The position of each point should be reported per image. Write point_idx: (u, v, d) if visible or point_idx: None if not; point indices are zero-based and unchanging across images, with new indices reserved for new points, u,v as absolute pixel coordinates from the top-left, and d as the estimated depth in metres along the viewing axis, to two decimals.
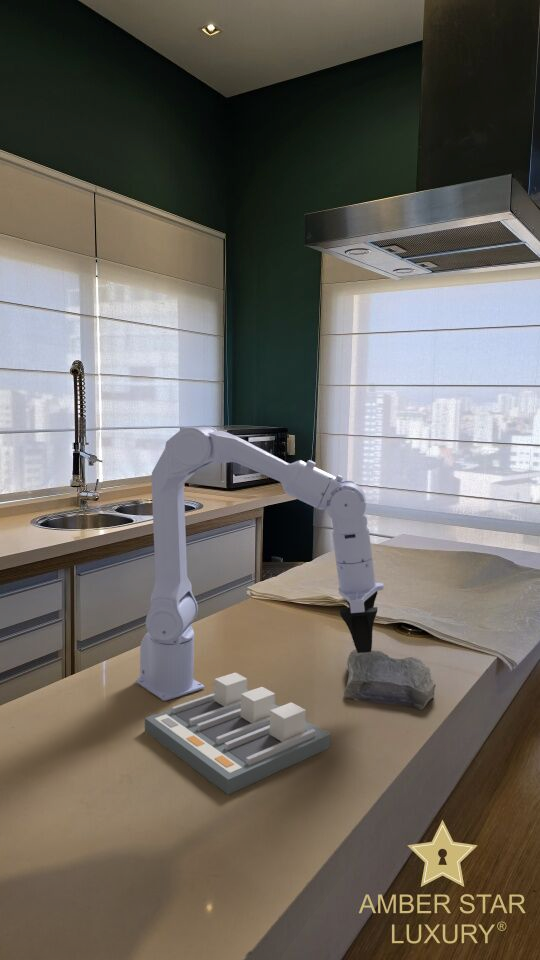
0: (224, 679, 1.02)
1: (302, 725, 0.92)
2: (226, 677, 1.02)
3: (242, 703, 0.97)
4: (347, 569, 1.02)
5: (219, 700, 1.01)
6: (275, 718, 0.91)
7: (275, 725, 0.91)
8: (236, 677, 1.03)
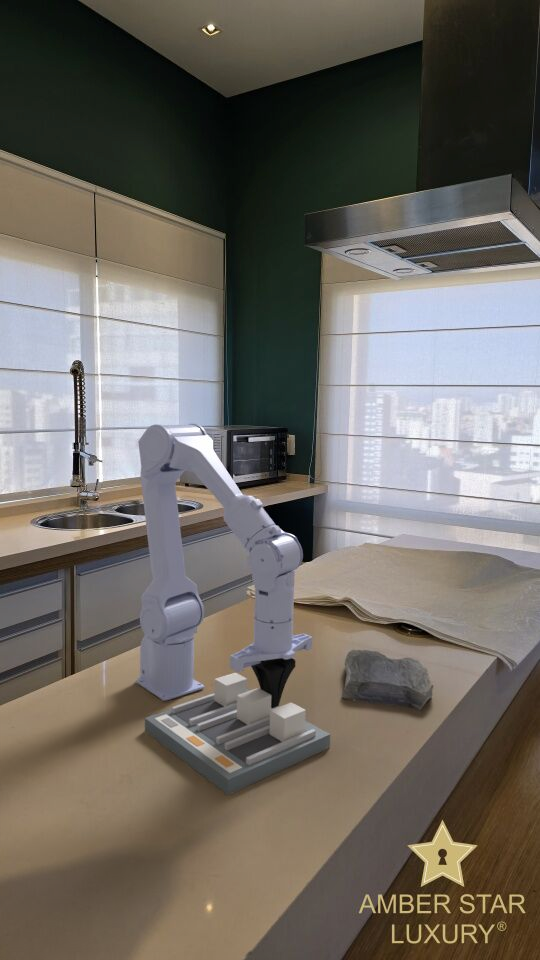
0: (224, 679, 1.02)
1: (302, 725, 0.92)
2: (226, 677, 1.02)
3: (238, 705, 0.96)
4: (255, 624, 0.97)
5: (219, 700, 1.01)
6: (275, 718, 0.91)
7: (275, 725, 0.91)
8: (236, 677, 1.03)
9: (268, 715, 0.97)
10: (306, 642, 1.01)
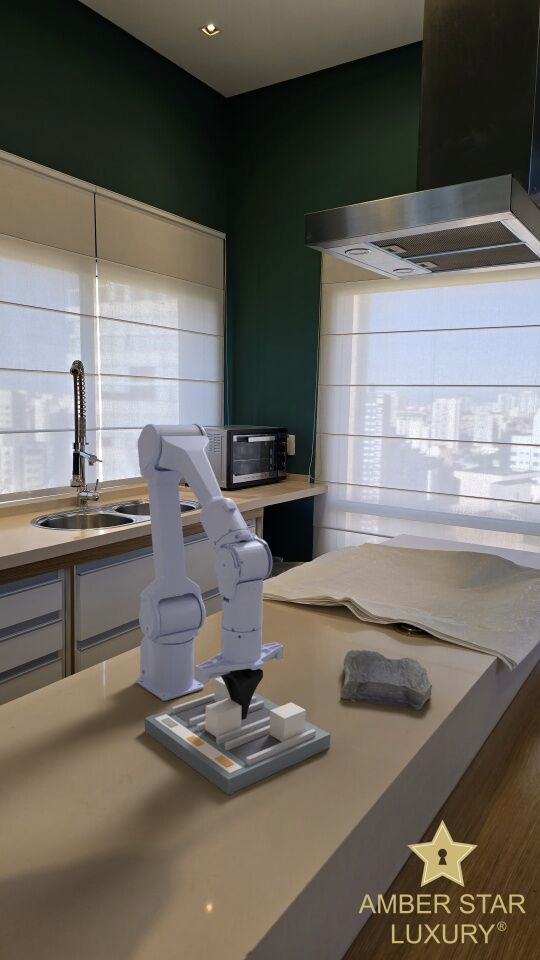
0: None
1: (302, 725, 0.92)
2: None
3: (207, 716, 0.93)
4: (222, 633, 0.93)
5: (219, 700, 1.01)
6: (275, 718, 0.91)
7: (275, 725, 0.91)
8: None
9: (238, 727, 0.93)
10: (277, 651, 0.97)
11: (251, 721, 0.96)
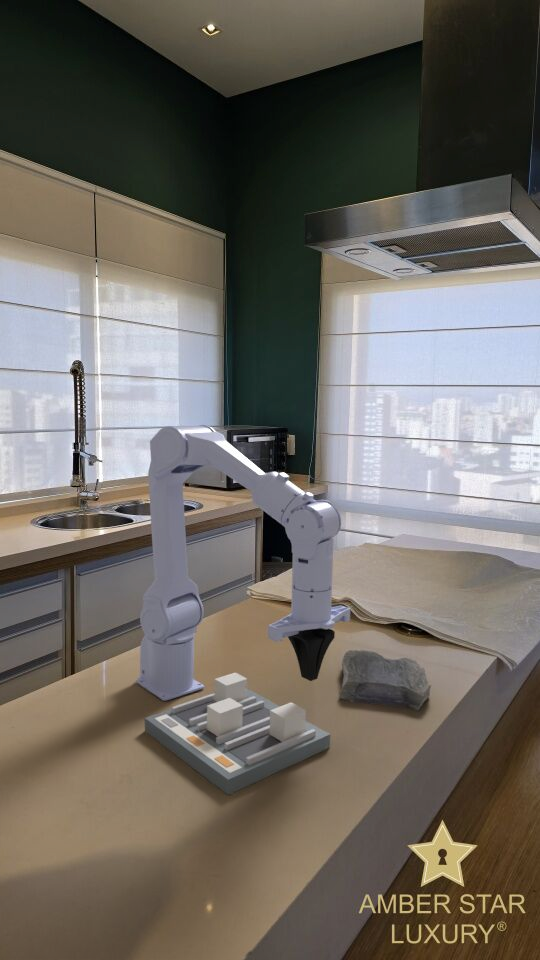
0: (224, 679, 1.02)
1: (302, 725, 0.92)
2: (226, 677, 1.02)
3: (208, 715, 0.93)
4: (293, 593, 0.94)
5: (219, 700, 1.01)
6: (275, 718, 0.91)
7: (275, 725, 0.91)
8: (236, 677, 1.03)
9: (239, 726, 0.93)
10: (344, 613, 0.98)
11: (251, 721, 0.96)
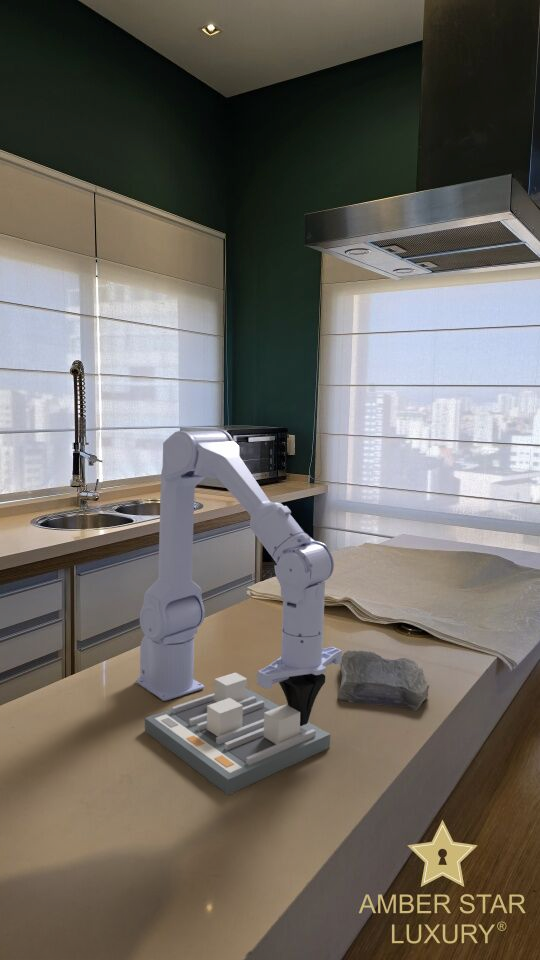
0: (224, 679, 1.02)
1: (296, 727, 0.92)
2: (226, 677, 1.02)
3: (208, 715, 0.93)
4: (283, 637, 0.92)
5: (219, 700, 1.01)
6: (269, 720, 0.91)
7: (269, 727, 0.91)
8: (236, 677, 1.03)
9: (239, 726, 0.93)
10: (336, 656, 0.96)
11: (251, 721, 0.96)
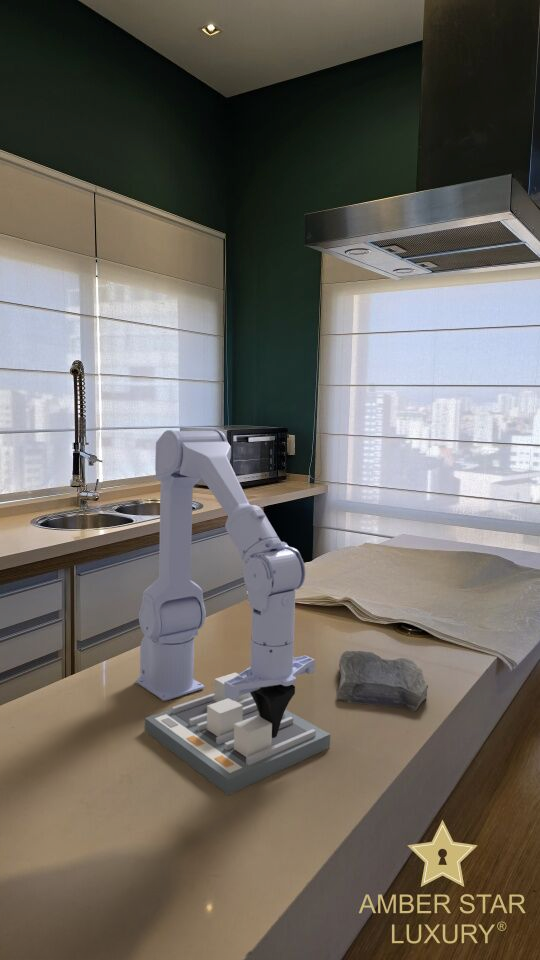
0: (224, 679, 1.02)
1: (268, 739, 0.88)
2: (226, 677, 1.02)
3: (208, 715, 0.93)
4: (252, 646, 0.88)
5: (219, 700, 1.01)
6: (239, 732, 0.87)
7: (239, 739, 0.87)
8: None
9: None
10: (308, 665, 0.92)
11: None
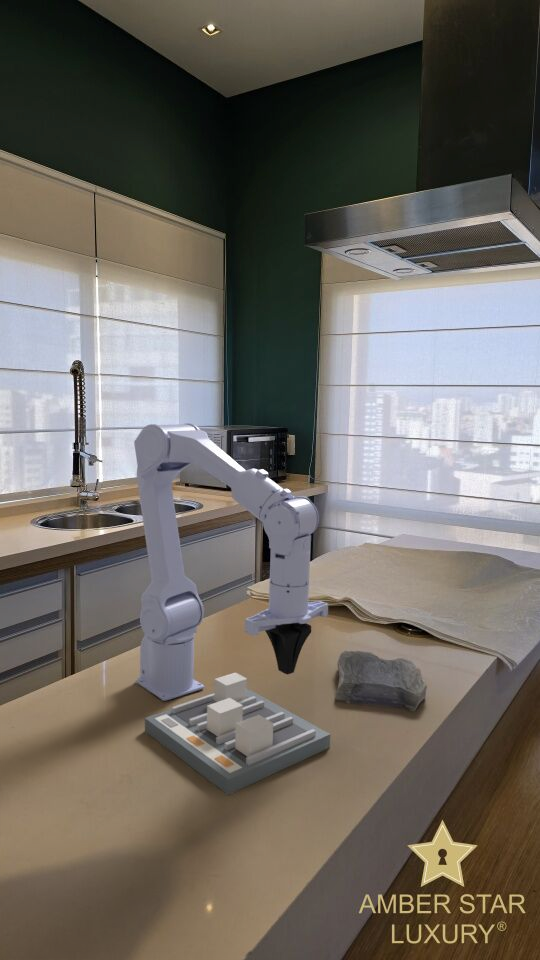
0: (224, 679, 1.02)
1: (269, 739, 0.88)
2: (226, 677, 1.02)
3: (208, 715, 0.93)
4: (270, 588, 0.95)
5: (219, 700, 1.01)
6: (240, 732, 0.87)
7: (241, 739, 0.88)
8: (236, 677, 1.03)
9: None
10: (322, 609, 0.99)
11: None
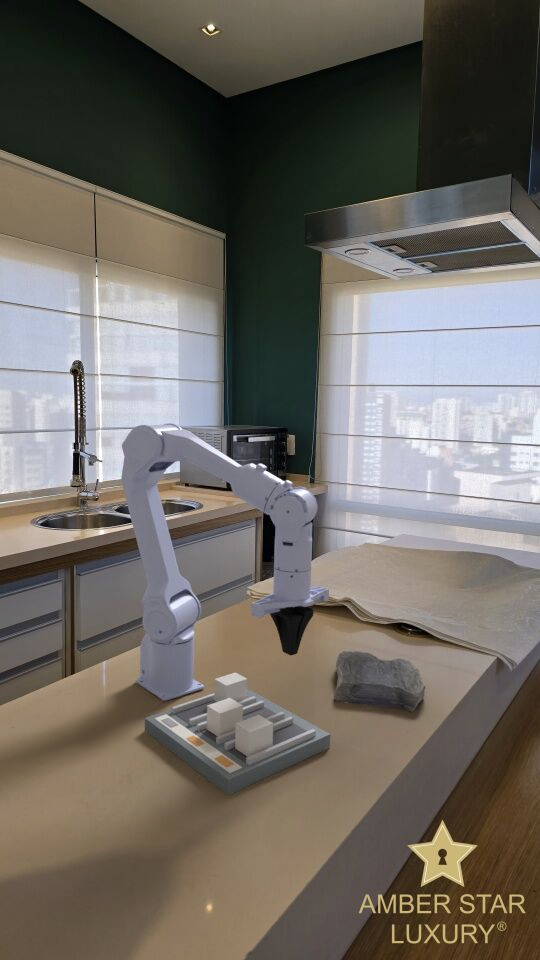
0: (224, 679, 1.02)
1: (269, 739, 0.88)
2: (226, 677, 1.02)
3: (208, 715, 0.93)
4: (275, 574, 1.01)
5: (219, 700, 1.01)
6: (240, 732, 0.87)
7: (241, 739, 0.88)
8: (236, 677, 1.03)
9: None
10: (323, 593, 1.05)
11: None
